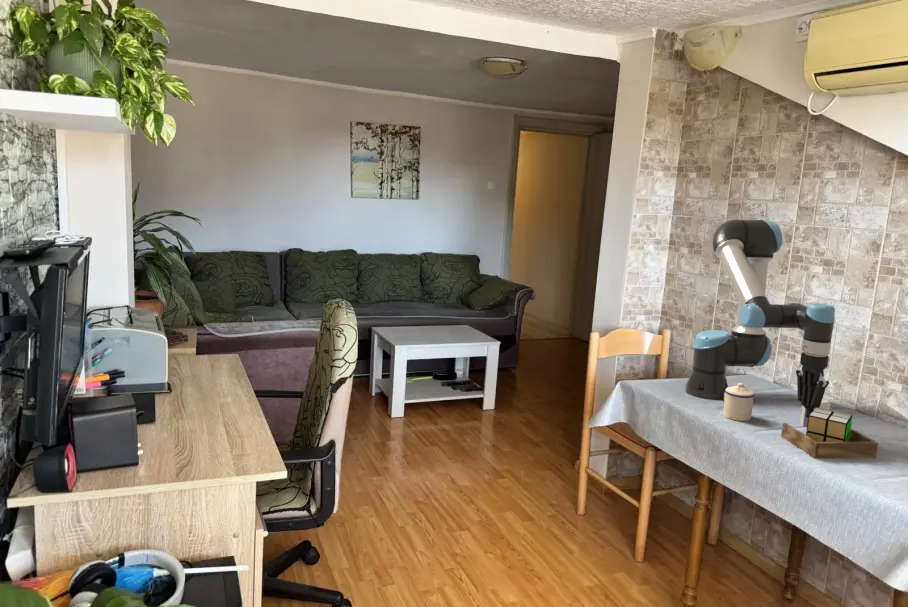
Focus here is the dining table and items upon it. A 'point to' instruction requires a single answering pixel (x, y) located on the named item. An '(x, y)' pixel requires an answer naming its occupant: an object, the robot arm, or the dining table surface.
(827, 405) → the cream white cube
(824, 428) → the puzzle cube
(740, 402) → the teacup with lid
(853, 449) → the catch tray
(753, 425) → the dining table surface
